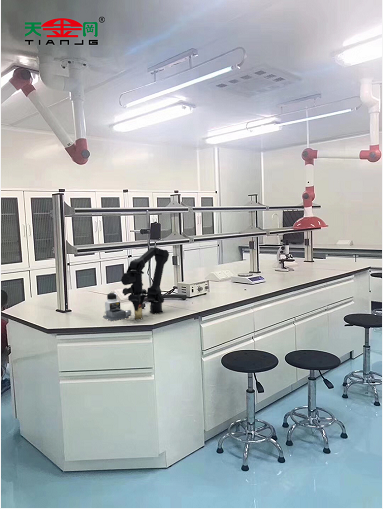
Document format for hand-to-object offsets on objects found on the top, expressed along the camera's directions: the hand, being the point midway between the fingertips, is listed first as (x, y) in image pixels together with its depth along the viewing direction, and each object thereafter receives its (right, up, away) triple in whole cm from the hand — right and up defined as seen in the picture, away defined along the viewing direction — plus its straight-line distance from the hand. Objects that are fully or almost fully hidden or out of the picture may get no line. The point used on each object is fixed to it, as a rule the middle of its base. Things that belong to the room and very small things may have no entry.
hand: (138, 309), depth 235 cm
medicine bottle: (-18, -5, +18) cm, 26 cm away
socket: (-12, -5, +5) cm, 14 cm away
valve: (0, -6, 0) cm, 6 cm away
